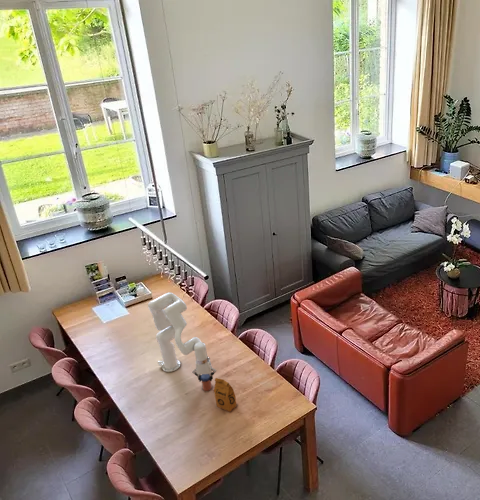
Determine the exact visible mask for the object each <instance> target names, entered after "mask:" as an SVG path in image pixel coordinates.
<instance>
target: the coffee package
mask: <svg viewBox="0 0 480 500" xmlns="http://www.w3.org/2000/svg"><path fill="white" fill-rule="evenodd" d="M214 381H215V382H214V388H213V393H214V398H215V403H216V407H217V408H219V409H222V410H224V411H227V412H232V411H233V410H234V409H235V408H236V407H237V399H236V398H237V397H236V393H235V390H234V388H233V387H232V385H231V384H230V383H229V382H227V380H225V379H224V378H219V377H215V379H214Z"/></svg>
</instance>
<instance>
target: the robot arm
mask: <svg viewBox="0 0 480 500" xmlns="http://www.w3.org/2000/svg"><path fill="white" fill-rule="evenodd" d="M147 308H148V310H149V312H150V314H151V315H152V319H153V323H154V326H155V328H156V330H157V331H158V332H157V333H156V335H155V339H156V341H157V344H158V346H159V350H160V353H161V358H162V360H158V361H157V365H158V366H159V367H161V369H162V370H163V372H165V373H172V372H174V371H177V370H178V369H180V367H181V361H180V360H179V359H178V357H177V352H176V348H175V345H176V347H177V348H178V350H179V352H180V353H181V354H182V355H184V356H188V355H190V354H191V353H193V352H194V357H195V368H194V369H193V370H192V374H193V375H194V376H195V377H196V378H198V382H201V379H200V376H201V375H202V374H209V375H210V381H211V382H212V381H213V380H214V375H215V374H216V373H217V369H216V368H214V367H213V365H212V362H211V357H209V355H208V351H207V345H206V343H205V342H202V341H201V339H200V338H199V337H197V336H193V337H192V338H191V339H189V340H187V341H185V342H184V343H183V341H182V333H183V331H184V329H185V328H186V327H187V325H188V322H187V321H186V319H185V318H184V316H183V314H182V313H184V312H185V311H187V309H188V306H187V304H186V302H185V301H184V300H183V299H182V298H180V297H179V296H178V295H176V294H175V293H173V292H171V291H169V292H166V293H164V294H162V295H160V296H158V297H157V298H154V299H152V300H150V301H149V302H148V304H147ZM172 340H174V342H175V344H174V342H172ZM201 383H202V382H201Z"/></svg>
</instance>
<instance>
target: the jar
mask: <svg viewBox="0 0 480 500" xmlns="http://www.w3.org/2000/svg"><path fill="white" fill-rule="evenodd" d="M201 386H202V390H203V391H204V392H209V391H210V390H212V388H213V386H212V381H210V380H208V381H206V382H203V381H201Z"/></svg>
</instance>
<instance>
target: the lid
mask: <svg viewBox="0 0 480 500" xmlns="http://www.w3.org/2000/svg"><path fill="white" fill-rule="evenodd" d="M200 375H201V376H200V379H201V381H203V382H206V381H208V380H210V375H209V374H200Z"/></svg>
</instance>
